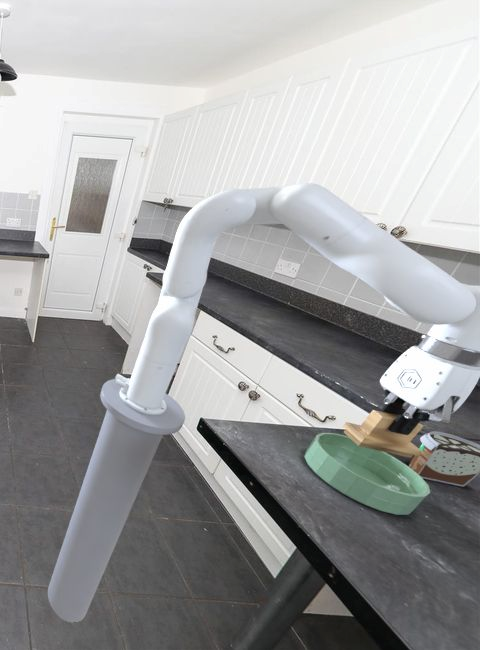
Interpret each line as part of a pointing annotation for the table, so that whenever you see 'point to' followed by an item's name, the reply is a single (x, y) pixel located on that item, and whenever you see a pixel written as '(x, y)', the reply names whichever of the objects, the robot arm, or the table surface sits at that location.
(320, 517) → the table surface
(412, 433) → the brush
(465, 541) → the table surface
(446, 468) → the food container
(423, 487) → the bowl
